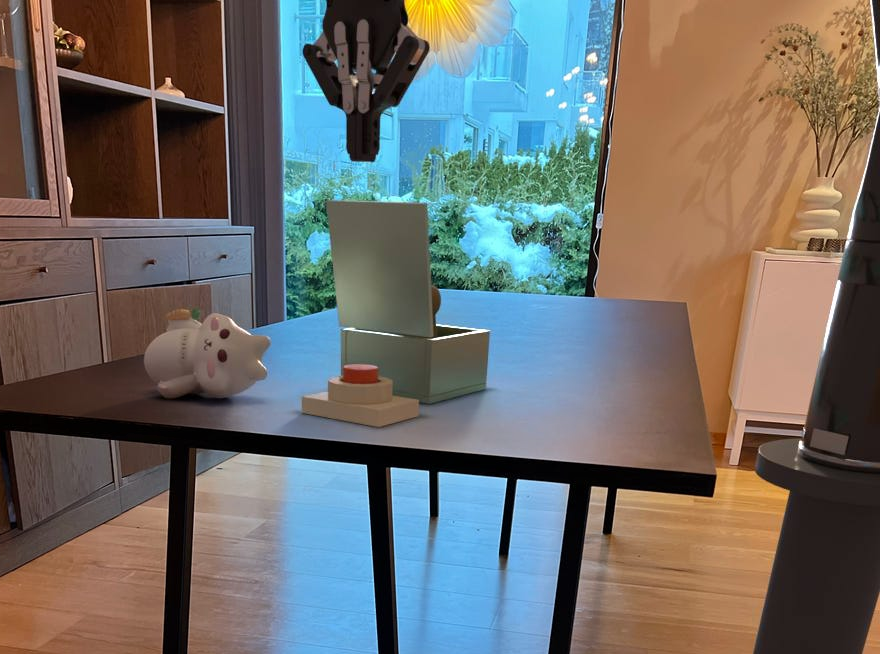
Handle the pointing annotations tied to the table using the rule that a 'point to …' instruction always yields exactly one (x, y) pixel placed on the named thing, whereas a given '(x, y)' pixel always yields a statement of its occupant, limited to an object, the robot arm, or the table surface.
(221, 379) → the cat figurine
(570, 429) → the table surface
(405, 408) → the panel
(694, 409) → the table surface
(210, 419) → the table surface
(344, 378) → the button
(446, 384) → the open box
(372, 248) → the box lid
